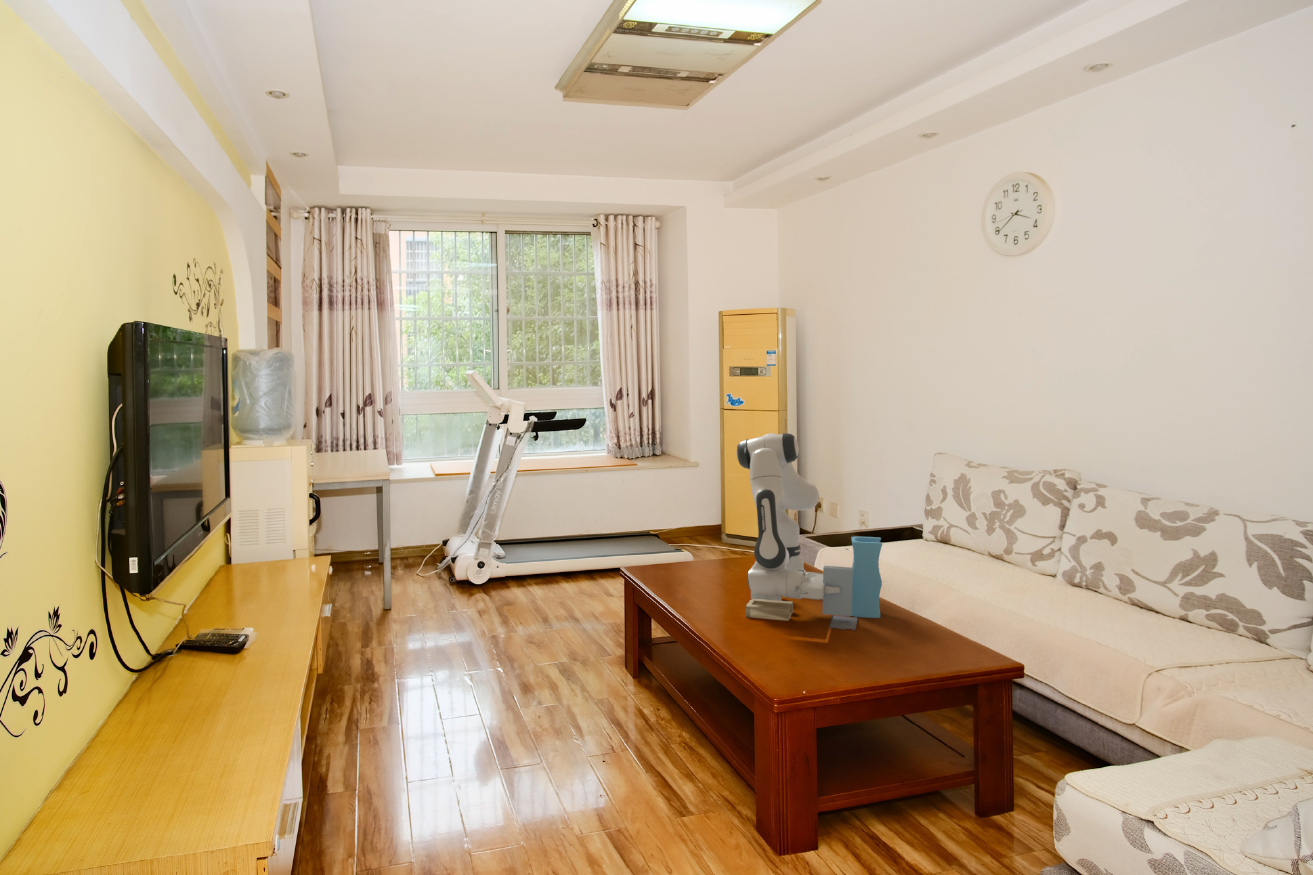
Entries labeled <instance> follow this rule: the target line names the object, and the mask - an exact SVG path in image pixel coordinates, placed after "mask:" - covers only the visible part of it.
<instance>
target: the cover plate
mask: <svg viewBox="0 0 1313 875" xmlns="http://www.w3.org/2000/svg"><path fill="white" fill-rule="evenodd" d="M822 572H823V573H822V574H823V583H825V586H829V587H834V586H837V587H840V592H839V593H830V594H826V593H825V595H824V597H823V599H822V612H821V613H822V615H827V616H828V615H829V616H830V615H831V616H844V617H850V616H851V615H852V587H853V568H852V566H851V567H850V566H837V565H836V566H834V565H824V566H823V570H822Z"/></svg>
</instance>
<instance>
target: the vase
mask: <svg viewBox="0 0 1313 875" xmlns="http://www.w3.org/2000/svg"><path fill="white" fill-rule="evenodd" d="M881 540H882V538H881V537H873V536H851V544H852V550H853V552H852V553H853V554H852V556H853V560H852V565H851V568H853V587H852V615H851V616H854V617H856V618H869V619H880V618H881V610H880V594H881V590H882V586H883V581H882V577H881V576H882V575H881V572H880V567H879V566H880V565H879V564H880V563H879V561H880V555H881V551H882V547H883V542H881Z"/></svg>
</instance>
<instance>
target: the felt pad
mask: <svg viewBox="0 0 1313 875" xmlns="http://www.w3.org/2000/svg"><path fill="white" fill-rule="evenodd" d="M858 619H859V617H850V616H839V615H831V619H830V622H829V626H828V629H835V628H836V630H837V629H838V630H846V629H852V630H851V631H856V629H857V624H858Z"/></svg>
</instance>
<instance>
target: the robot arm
mask: <svg viewBox="0 0 1313 875" xmlns="http://www.w3.org/2000/svg"><path fill="white" fill-rule="evenodd" d="M799 452H800V446H799V443H798V439H797V438H796V437H795V435H793V434H792V433H784V432H782V434H780V433H779V434H778V433H772V432H770V433H766V434H763V435H762V436H757V437H754V438H750V439H748V438H746V439H744V440H742V441H739V443H738V444H737V446H736V458H737V459H736V460H737V461H738V464H739V465H740V466H741V467H742V468H744V469H748V470H749V479H750V480H749V482H750V489H751V495H752V498H753V501H754V504H755V507H756V513H757V514H756V515H757V516H756V517H757V528H758V529H757V530H758V531H757V532H758V534H757V536H758V537H757V539H756V542H755V546H754V549H753V555H754V559H755V562H754V564H753V565H752V566H751V568H750V569H749V570H748V572H747V585H748V588H749V590H750V592H751V591H752V592H753V593H755V594H758V595H763V596H772V597H775V596H781V597H783V598H785V599H787V598H788V599H799V600H802V599H803V598H804V599H810V600H823V597H824V595H825V593H826V594H830V593H839V592H840V587H837V586H834V587H829V586H825V583H823V573H821V572H814V571H813V572H812V571H806V570H805V568H804V560H803V558H802V557H801V545H800V525H799V523H798V522H797V521H796V520H794V519H793V518H791V517H790V515H788V513H787V512H786V510H792V511H807V510H813V509H814V508H815V507H817V505H818V503H819V499H820V498H819V497H820V494H819V491H818V490H819V489H818V488H817V487H816V485H814V484H813V483H811V482H809V481H808V480H806V479H804V478H803V477H802V476H801V475H800V474H799V473H798V472H797V471H796V470H795V468H794V466H793V465H794V464H793V462H795V461H796V460H797V459H798V458H799Z"/></svg>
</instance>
